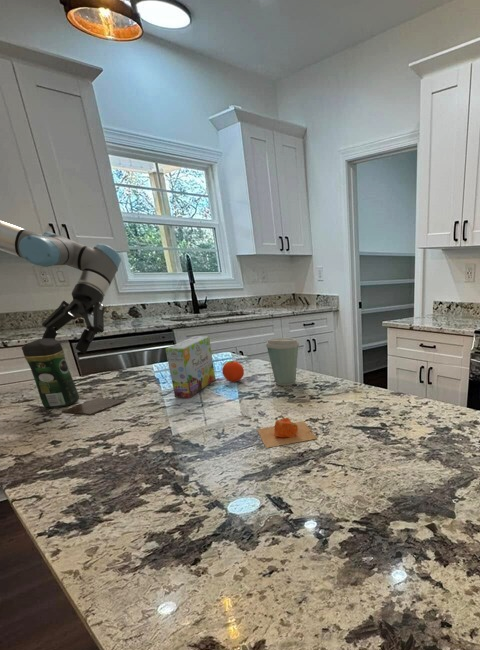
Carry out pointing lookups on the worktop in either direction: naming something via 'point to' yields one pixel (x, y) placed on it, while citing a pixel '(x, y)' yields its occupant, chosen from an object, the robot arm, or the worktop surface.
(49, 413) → the worktop surface
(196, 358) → the snack box
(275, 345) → the disposable coffee cup
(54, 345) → the coffee jar
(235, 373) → the clementine
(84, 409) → the walnut coaster
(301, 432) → the orange chunks on board
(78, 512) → the worktop surface
